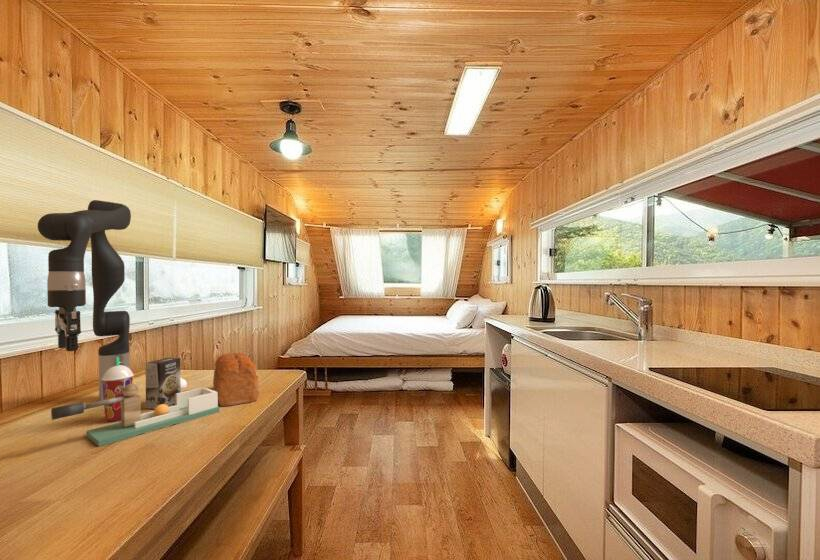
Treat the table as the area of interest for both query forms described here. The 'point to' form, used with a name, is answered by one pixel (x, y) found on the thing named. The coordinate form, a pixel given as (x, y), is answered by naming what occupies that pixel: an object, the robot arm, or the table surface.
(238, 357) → the bread
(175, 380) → the coffee box
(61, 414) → the rod
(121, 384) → the smoothie
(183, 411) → the pitch
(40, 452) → the table surface
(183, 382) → the garlic bulb
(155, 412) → the ball
